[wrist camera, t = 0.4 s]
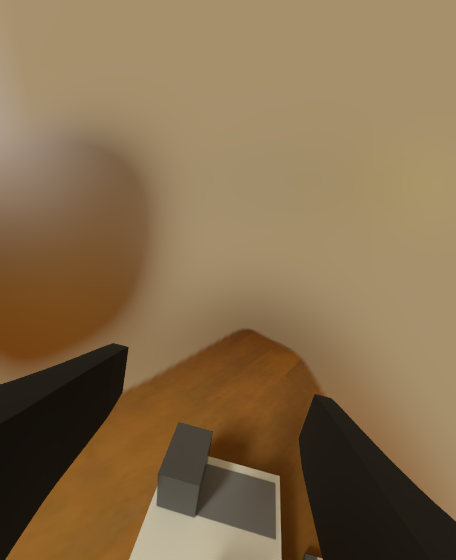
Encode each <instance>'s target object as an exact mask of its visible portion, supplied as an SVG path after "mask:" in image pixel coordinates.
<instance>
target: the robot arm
mask: <svg viewBox="0 0 456 560" xmlns="http://www.w3.org/2000/svg"><path fill="white" fill-rule="evenodd" d="M127 355H128V347H126V346H122V345H118V344H114V343H113V344H110V345H107V346H104V347H101V348H99V349H96V350H94V351H91V352H89V353H86V354H84V355H81V356H79V357H76V358H74V359H71V360H69V361H66V362H64V363H61V364H58V365H56V366H53V367H50V368H47V369H45V370H42V371H39V372H36V373H33V374H30V375H28V376H25V377H22V378H19V379H16V380H13V381H10V382H7V383H4V384H0V560H5V559H6V557H7V556H8V554H9V553H10V551H11V550H12V548H13V546H14V545H15V543H16V542H17V540H18V539H19V537H20V536H21V534H22V533H23V531H24V530H25V528H26V527H27V525H28V524H29V522H30V521H31V519H32V518H33V516H34V515H35V513H36V512H37V510H38V509H39V507H40V506H41V504H42V503H43V501H44V500H45V498H46V497H47V496H48V494H49V493H50V492H51V490H52V489H53V487H54V486H55V485H56V483H57V482H58V481H59V479H60V478H61V477H62V476H63V474H64V473H65V472H66V470H67V469H68V468H69V467H70V465H71V464H72V463H73V461H74V460H75V459H76V458H77V456H78V455H79V454H80V452H81V451H82V450H83V449H84V447H85V446H86V445H87V443H88V442H89V441H90V439H91V438H92V437H93V436H94V434H95V433H96V432H97V430H98V429H99V428H100V426H101V425H102V424H103V422H104V421H105V420H106V418H107V417H108V415H109V414H110V412H111V411H112V409H113V407H114V406H115V404H116V402H117V401H118V399H119V397H120V396H121V394H122V391H123V383H124V377H125V370H126V362H127ZM299 445H300V455H301V463H302V470H303V475H304V480H305V484H306V489H307V493H308V497H309V502H310V506H311V510H312V515H313V519H314V523H315V528H316V532H317V536H318V541H319V545H320V549H321V554H322V558H323V560H456V521H454V520H453V519H452V518H451V517H450V516H449V515H448V514H447V513H446V512H444V511H443V510H442V509H441V508H440V507H439V506H438V505H436V504H435V503H434V502H433V501H432V500H431V499H430V498H429V497H428V496H427V495H426V494H425V493H424V492H423V491H421V490H420V489H419V488H418V487H417V486H416V485H415V484H414V483H413V482H412V481H411V480H410V479H409V478H408V477H407V476H406V475H405V474H404V473H403V472H402V471H401V470H400V469H399V468H398V467H397V466H396V465H395V464H394V463H393V462H392V461H391V460H390V459H389V458H388V457H387V456H386V455H385V454H384V453H383V452H382V451H381V450H380V449H379V448H378V447H377V446H376V445H375V444H374V443H373V441H372V440H371V439H370V438H369V437H368V436H367V435H366V434H365V433H364V432H363V431H362V430H361V429H360V428H359V427H358V425H357V424H355V422H354V421H353V420H352V419H351V418H350V417H349V416H348V415H347V414H346V413H345V412H344V411H343V409H341V407H340V406H339V405H338V404H337V403H335V401H333V400H332V399H331V398H328V397H324V396H320V395H316V394H315V395H314V397H313V400H312V403H311V406H310V409H309V411H308V414H307V417H306V420H305V422H304V425H303V428H302V431H301V434H300V436H299Z"/></svg>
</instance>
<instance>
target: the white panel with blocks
mask: <svg viewBox="0 0 456 560" xmlns="http://www.w3.org/2000/svg"><path fill="white" fill-rule="evenodd" d="M212 434H213V431H209V430H206V429H202V428H198V427H195V426H191V425H187V424H183V423H180V422H179V423H178V425H177V428H176V430H175V433H174V435H173V438H172V440H171V443H170V445H169V448H168V450H167V453H166V455H165V458H164V460H163V463H162V465H161V468H160V470H159V473H158V484H157V489H156V491H155V494H154V496H153V499H152V502H151V504H150V507H149V509H148V512H147V515H146V517H145V520H144V522H143V525H142V528H141V530H140V533H139V535H138V538H137V541H136V543H135V546H134V548H133V551H132V554H131V556H130V559H129V560H282V556H281V514H280V476H277V475H274V474H270V473H267V472H263V471H260V470H256V469H252V468H249V467H245V466H242V465H238V464H235V463H231V462H227V461H224V460H220V459H217V458H213V457H209V451H210V445H211V439H212Z"/></svg>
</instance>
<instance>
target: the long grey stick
mask: <svg viewBox="0 0 456 560" xmlns="http://www.w3.org/2000/svg"><path fill="white" fill-rule="evenodd" d="M302 560H323V559H322V558H319V557H315V556H312V555H309V554H306V553H305V555H304V557H303V559H302Z"/></svg>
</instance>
